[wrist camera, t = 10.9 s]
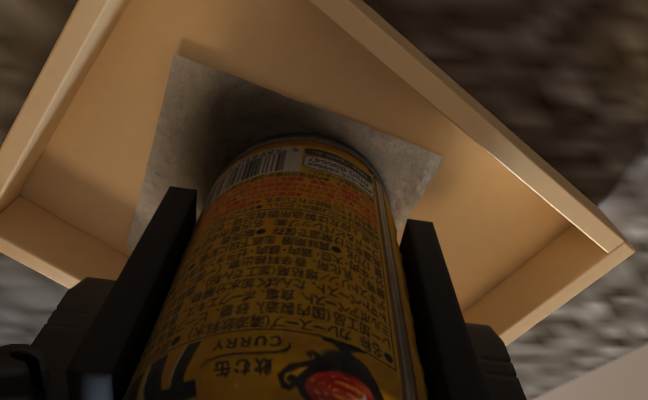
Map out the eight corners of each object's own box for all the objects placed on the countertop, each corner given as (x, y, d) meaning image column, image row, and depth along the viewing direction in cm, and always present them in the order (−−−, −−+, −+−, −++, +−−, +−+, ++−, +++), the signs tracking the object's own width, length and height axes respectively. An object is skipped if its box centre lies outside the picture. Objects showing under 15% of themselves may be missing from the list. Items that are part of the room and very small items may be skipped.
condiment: (350, 315, 19) (372, 791, 9) (127, 245, 18) (-155, 722, 7) (443, 153, 16) (653, 622, 6) (177, 49, 14) (-216, 428, 4)
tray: (2, 189, 17) (-44, 230, 15) (191, -151, 12) (162, -162, 10) (364, 394, 22) (368, 447, 20) (599, 208, 17) (637, 251, 15)
